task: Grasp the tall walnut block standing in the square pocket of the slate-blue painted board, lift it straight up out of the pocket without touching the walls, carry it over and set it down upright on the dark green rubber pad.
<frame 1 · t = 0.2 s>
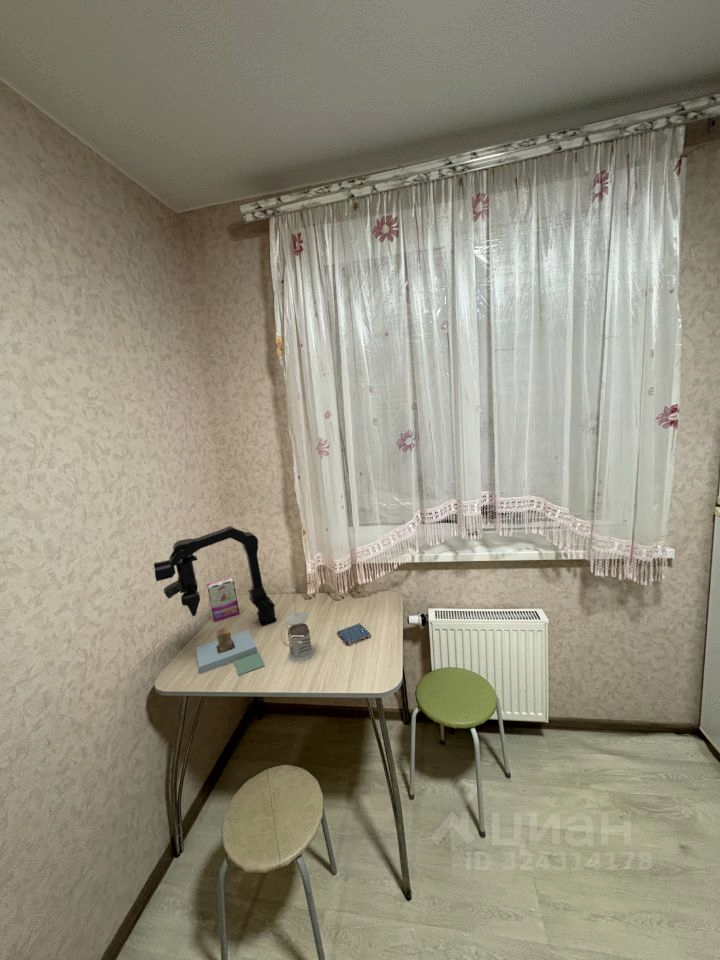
hand: (193, 610, 148), 14 cm above the table, fingers open, 9 cm apart
walnut block: (224, 642, 142), in the pocket board
pocket board: (226, 653, 143), on the table
candy bar box: (226, 616, 171), on the table
woven mat: (353, 637, 146), on the table
french press: (299, 654, 138), on the table
green pad: (249, 664, 135), on the table
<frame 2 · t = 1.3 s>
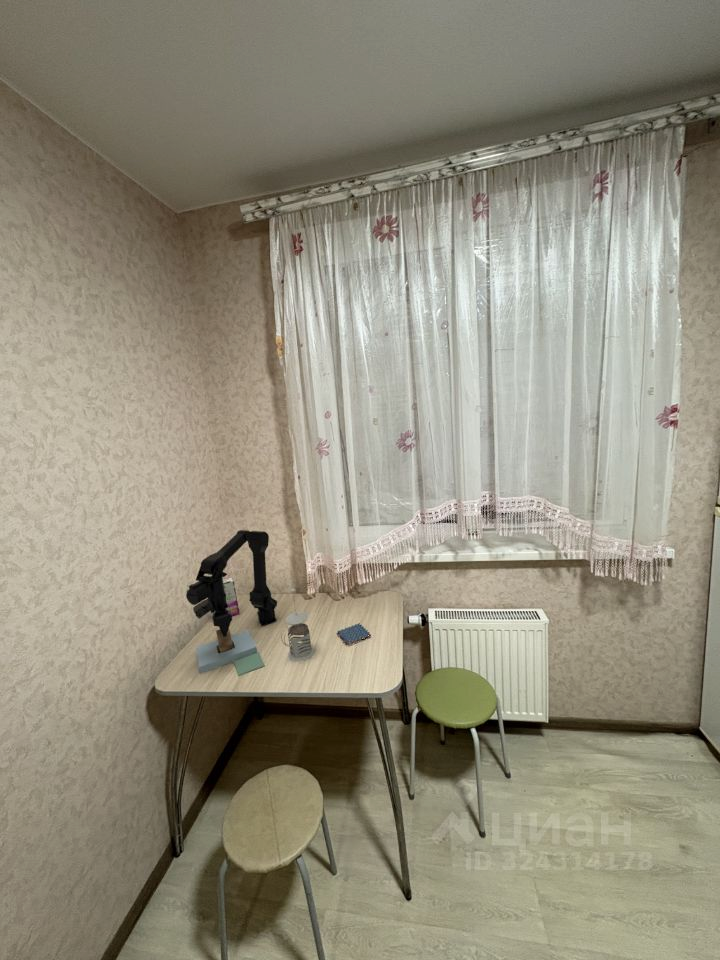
hand: (223, 630, 141), 9 cm above the table, fingers open, 9 cm apart
nothing on the table moved.
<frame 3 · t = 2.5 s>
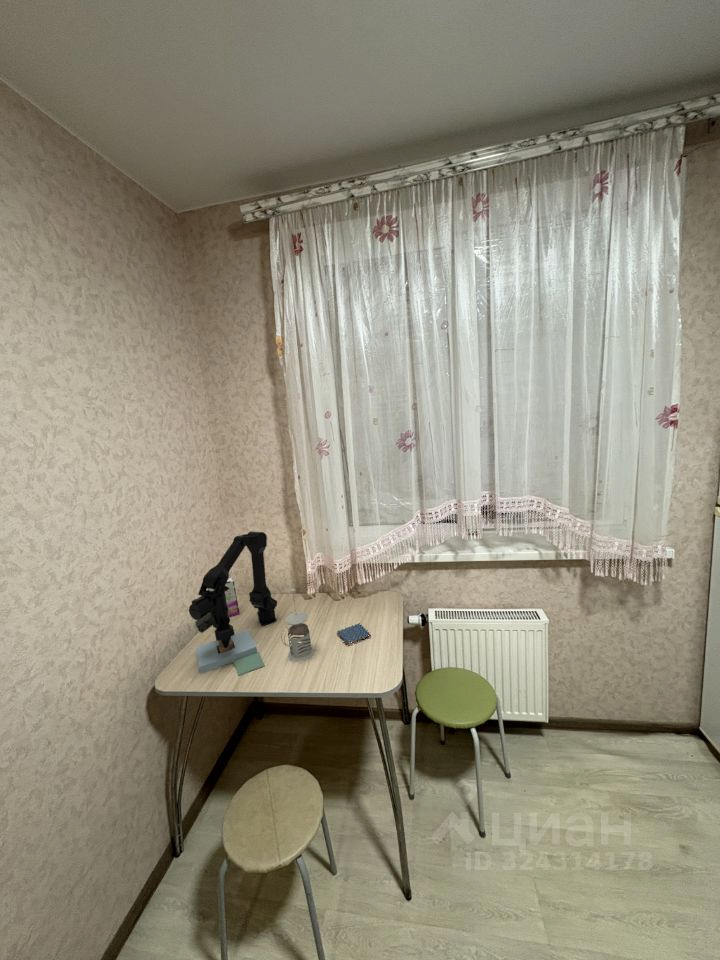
hand: (225, 644, 142), 4 cm above the table, fingers closed on walnut block, 4 cm apart
walnut block: (224, 642, 142), in the pocket board, touching gripper
everything else where it was.
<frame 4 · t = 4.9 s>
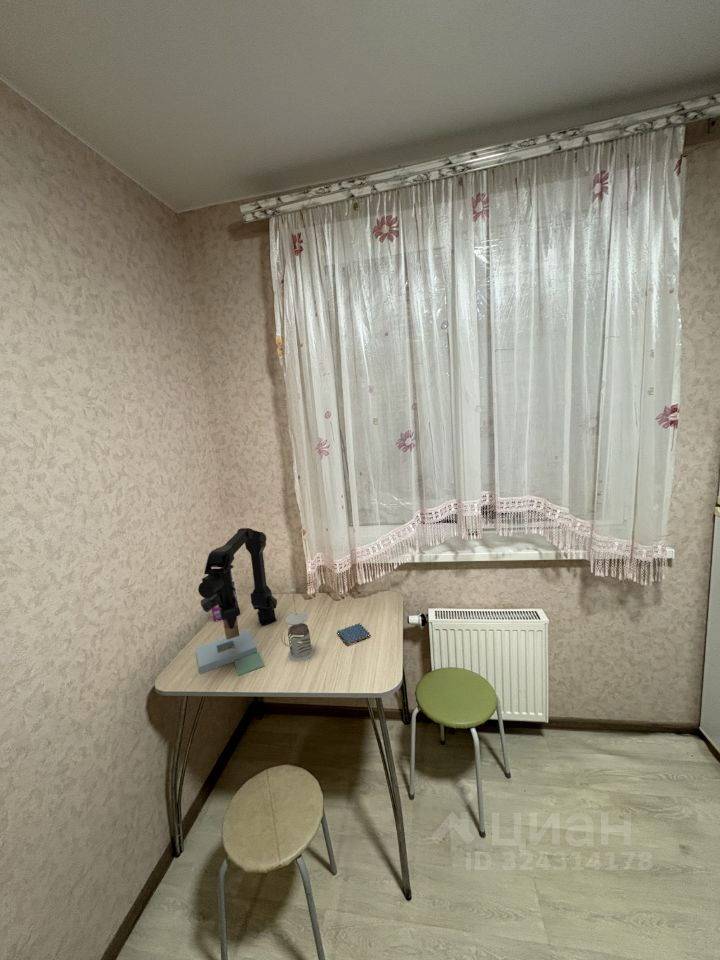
hand: (231, 625, 137), 13 cm above the table, fingers closed on walnut block, 4 cm apart
walnut block: (230, 623, 136), point 14 cm above the table, touching gripper
everything else where it was.
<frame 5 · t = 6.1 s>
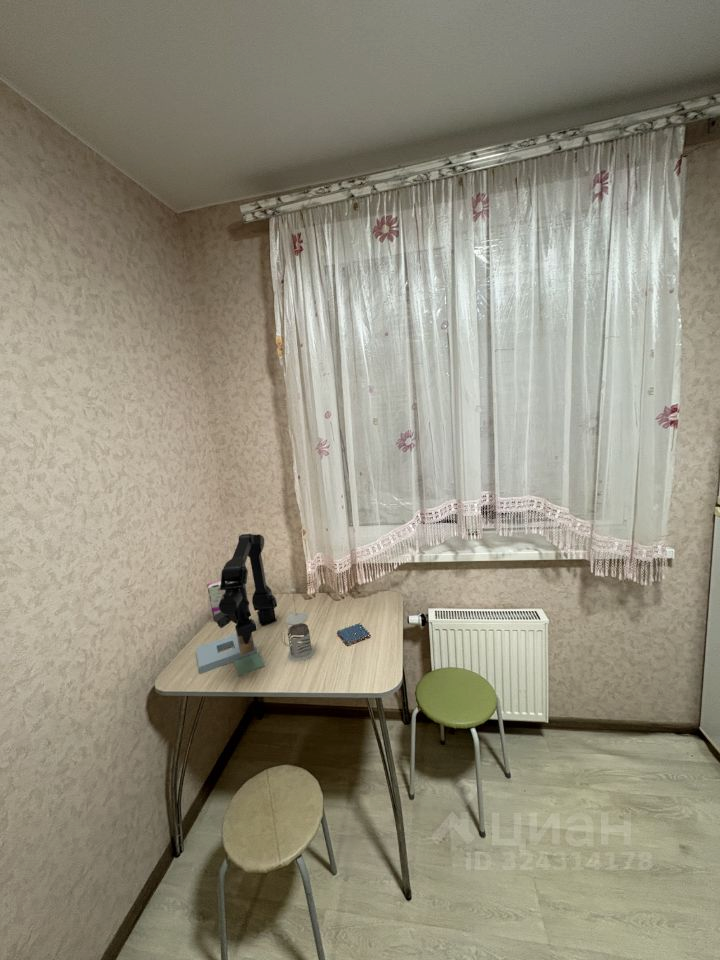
hand: (245, 640, 133), 9 cm above the table, fingers closed on walnut block, 4 cm apart
walnut block: (244, 638, 133), point 10 cm above the table, touching gripper
everything else where it was.
when the fingers open (5 cm above the table, at t = 7.2 s): walnut block stays where it is, resting on green pad.
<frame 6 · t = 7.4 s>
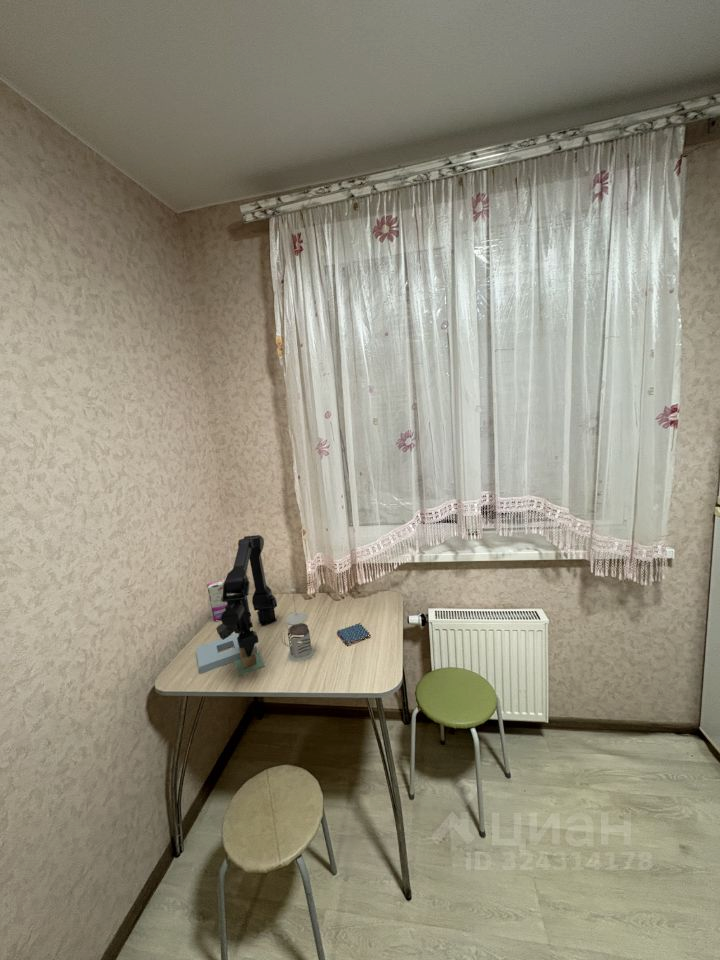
hand: (247, 651, 134), 5 cm above the table, fingers open, 7 cm apart
walnut block: (247, 651, 134), on the green pad
everything else where it was.
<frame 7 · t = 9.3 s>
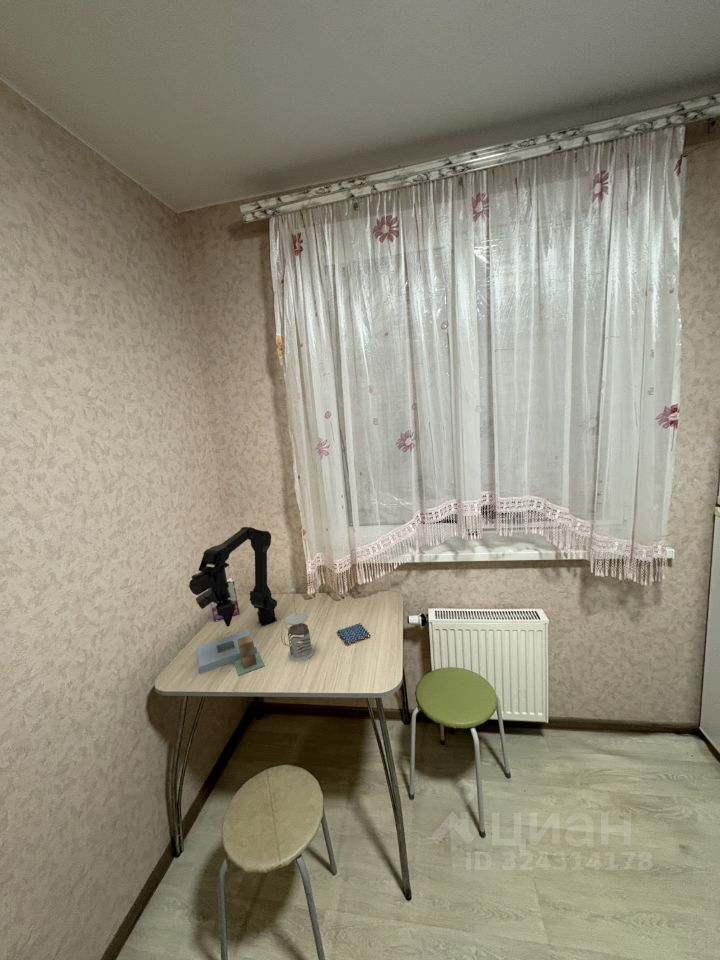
hand: (225, 620, 142), 12 cm above the table, fingers open, 9 cm apart
nothing on the table moved.
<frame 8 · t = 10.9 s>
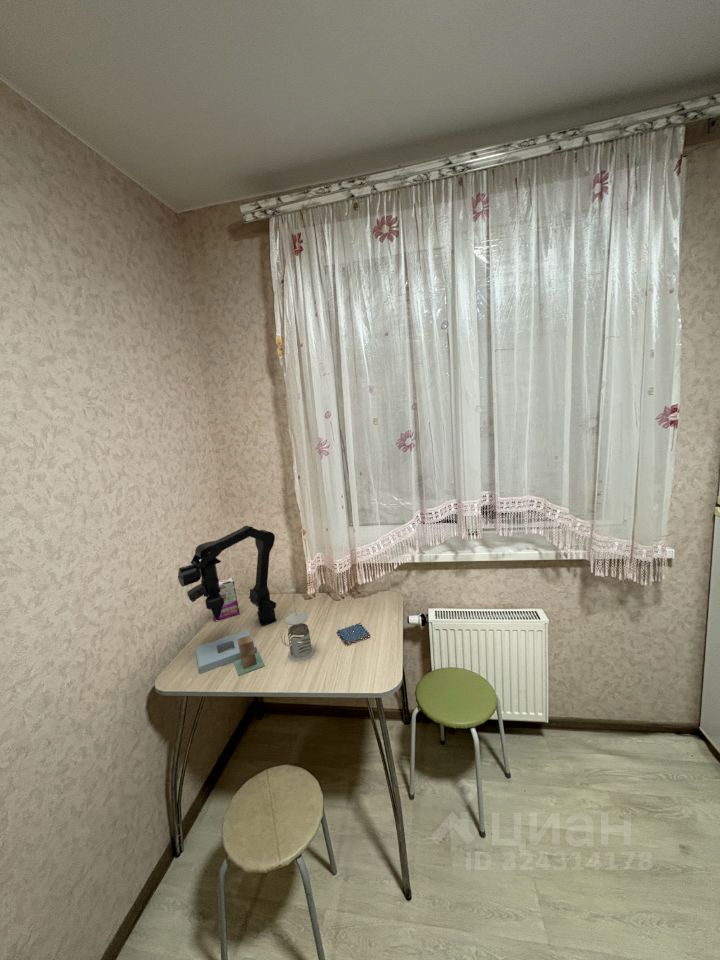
hand: (216, 614, 147), 13 cm above the table, fingers open, 9 cm apart
nothing on the table moved.
at the end: walnut block inside the target area on the green pad (0.0 cm from its centre), point 4.9 cm above the green pad's base; walnut block tilted 0°; walnut block touching green pad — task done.
